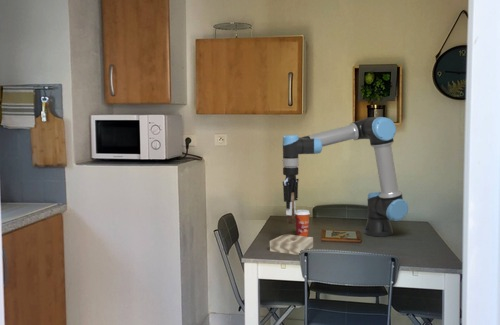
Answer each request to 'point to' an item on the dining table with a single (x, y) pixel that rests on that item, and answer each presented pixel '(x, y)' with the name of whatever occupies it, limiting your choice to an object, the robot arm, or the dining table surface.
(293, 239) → the maple block
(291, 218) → the walnut peg
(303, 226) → the coffee cup
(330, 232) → the dining table surface
